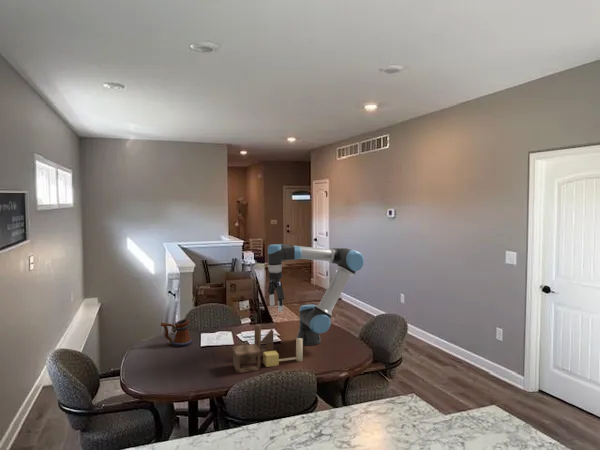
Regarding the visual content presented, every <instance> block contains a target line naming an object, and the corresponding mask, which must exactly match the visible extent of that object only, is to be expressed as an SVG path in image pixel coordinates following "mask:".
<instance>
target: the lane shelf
mask: <svg viewBox="0 0 600 450" xmlns="http://www.w3.org/2000/svg"><path fill="white" fill-rule="evenodd" d="M231 349H232V366H233V368H234V370H235V371H236V373H237V374H239V373H240V374H241V373H248V372H256V371H260V370H261V357H260V353H261V350H260V349H259V348H258V346H257V345H256V344H255V343H251V344H243V345H234V346H231ZM255 354H257V357H255ZM256 360H257V361H256ZM256 362H257V364H256V365H252V366H245V367H241V365H242V366H243V365H248V364H255V363H256Z"/></svg>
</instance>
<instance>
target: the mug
mask: <svg viewBox="0 0 600 450" xmlns="http://www.w3.org/2000/svg"><path fill="white" fill-rule="evenodd" d="M189 324H190V319H189V318H188V319H187V318H184V319H183V318H182V319H180V320H177V321H176V322H175V323H174V324H173V323H167V322H166V323H165V322H161V323H160V326H161V327H163V328H164V331H165V333H164V337H165V339H167V340H169V342H167V343H166V345H167V346H173V347H174V348H175V347H176V348H185V347H188V346H190V345H191V344H192V342H193V340H192V339H191V337H190V333H189ZM168 327H172V328H171V330H172V332H173V333H175V337H174V339H172V338H171V337H170V336H169V328H168Z"/></svg>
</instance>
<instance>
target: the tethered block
mask: <svg viewBox="0 0 600 450" xmlns="http://www.w3.org/2000/svg"><path fill="white" fill-rule="evenodd" d="M303 347H304V345H303V339H302V338H297V337H296V339H295V356H292V357H285V358H279V357H280V355H279V353H278V352H277V350H273V351H268V352H263V356H262V362H263V363H262V364H264V366H265V368H269V367H276V366H279V365H280V362H285V361H292V360H295V361H296V362H303V349H304V348H303Z"/></svg>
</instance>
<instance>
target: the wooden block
mask: <svg viewBox="0 0 600 450" xmlns="http://www.w3.org/2000/svg"><path fill="white" fill-rule="evenodd" d="M254 344H256V345H257V346H258V348H259V349H260V350H261V353H260V358H261V357H262V358H263V352H268V351H274V330H273V329H270V330H269V331H268V332H267V333H266V334H265V336H264V337H263V338H262V325H261V324H260V323H259V324H258V323H257V324H254ZM262 345H265V348H263V347H262ZM255 358H257V354H255Z"/></svg>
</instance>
